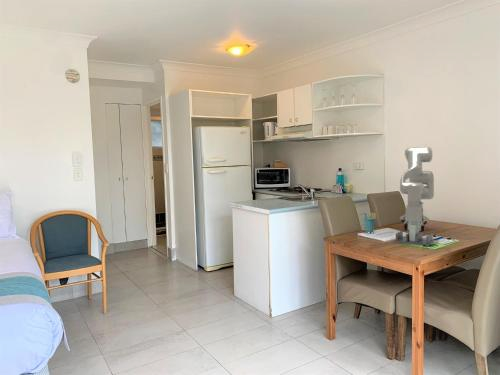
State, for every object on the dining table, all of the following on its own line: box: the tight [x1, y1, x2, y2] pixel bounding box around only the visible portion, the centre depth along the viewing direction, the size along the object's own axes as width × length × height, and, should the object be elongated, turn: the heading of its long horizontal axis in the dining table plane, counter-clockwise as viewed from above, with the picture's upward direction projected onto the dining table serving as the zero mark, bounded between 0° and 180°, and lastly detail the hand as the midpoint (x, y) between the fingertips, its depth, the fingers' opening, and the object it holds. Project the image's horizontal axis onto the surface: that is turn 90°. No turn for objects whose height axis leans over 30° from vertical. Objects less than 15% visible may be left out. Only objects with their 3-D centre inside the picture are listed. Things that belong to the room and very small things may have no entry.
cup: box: [360, 212, 378, 233], centre depth 275 cm, size 14×8×15 cm, turn 121°
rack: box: [394, 230, 435, 247], centre depth 243 cm, size 13×20×6 cm, turn 52°
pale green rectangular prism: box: [408, 223, 420, 241], centre depth 242 cm, size 8×4×10 cm, turn 142°
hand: (414, 230), depth 242 cm, fingers open, 9 cm apart
